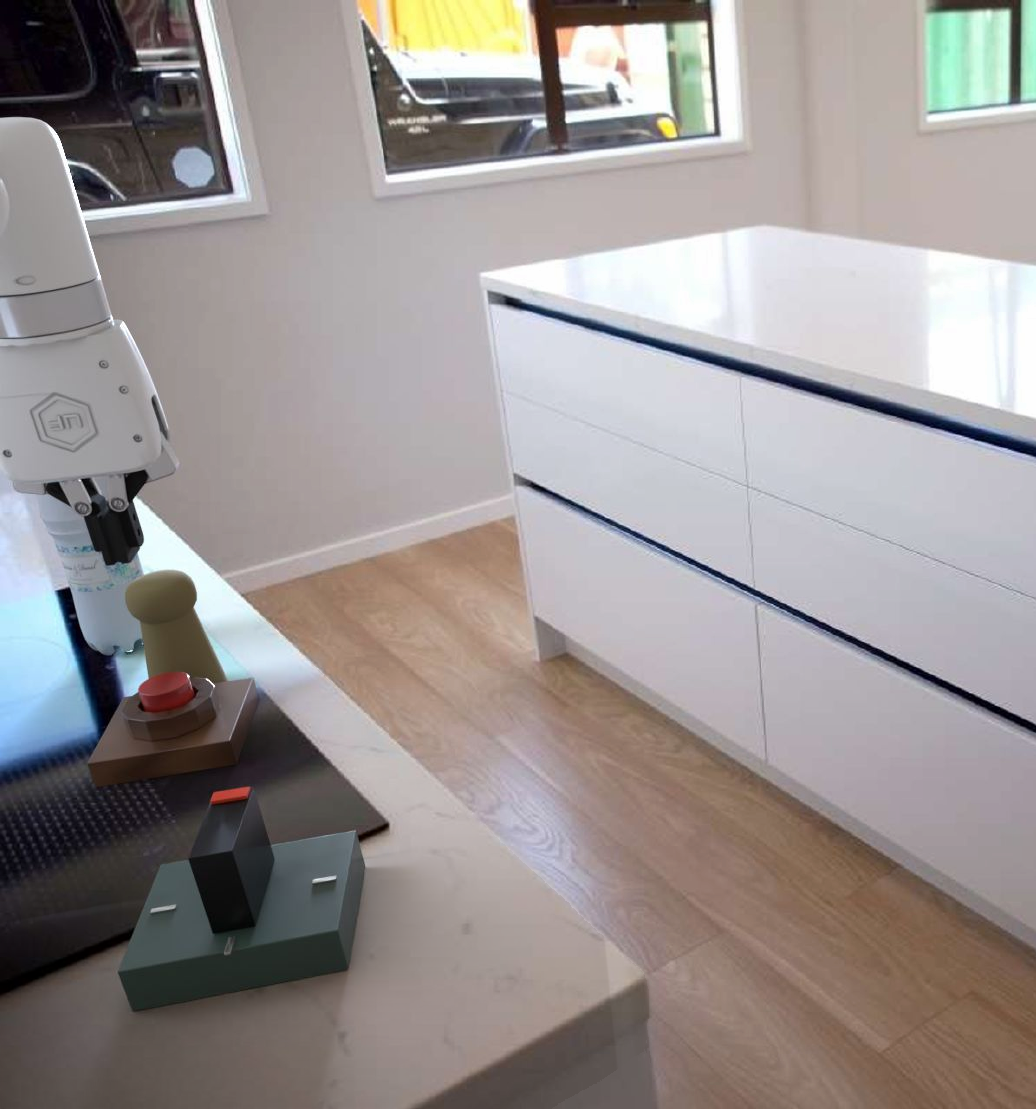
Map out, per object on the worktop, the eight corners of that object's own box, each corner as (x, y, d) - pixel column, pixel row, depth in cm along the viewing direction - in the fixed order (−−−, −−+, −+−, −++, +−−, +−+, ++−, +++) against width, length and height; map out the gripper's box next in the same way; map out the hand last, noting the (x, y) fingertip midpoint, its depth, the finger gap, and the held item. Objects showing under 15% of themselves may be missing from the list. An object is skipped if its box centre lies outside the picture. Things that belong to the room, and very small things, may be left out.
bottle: (69, 658, 114) (-3, 449, 105) (123, 624, 120) (59, 423, 111) (132, 664, 112) (63, 452, 104) (184, 629, 118) (123, 425, 110)
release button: (138, 717, 96) (132, 698, 96) (150, 694, 99) (144, 675, 99) (189, 710, 97) (183, 690, 96) (199, 687, 100) (193, 668, 99)
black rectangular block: (255, 926, 74) (231, 847, 72) (212, 934, 74) (186, 854, 72) (275, 859, 80) (252, 783, 78) (235, 866, 80) (211, 790, 77)
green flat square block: (130, 1016, 72) (114, 974, 71) (174, 897, 82) (161, 858, 81) (348, 973, 75) (336, 932, 73) (366, 863, 84) (356, 824, 83)
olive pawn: (231, 669, 110) (198, 555, 106) (228, 702, 105) (193, 583, 100) (155, 685, 108) (118, 569, 104) (148, 719, 103) (109, 599, 99)
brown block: (95, 788, 94) (79, 742, 93) (131, 719, 103) (116, 677, 102) (237, 764, 96) (223, 720, 94) (260, 699, 105) (248, 657, 103)
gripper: (-101, 337, 81) (-6, 593, 88) (150, 312, 83) (221, 563, 91) (-54, 311, 87) (30, 551, 95) (177, 288, 90) (240, 524, 98)
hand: (123, 556), depth 93 cm, fingers closed
